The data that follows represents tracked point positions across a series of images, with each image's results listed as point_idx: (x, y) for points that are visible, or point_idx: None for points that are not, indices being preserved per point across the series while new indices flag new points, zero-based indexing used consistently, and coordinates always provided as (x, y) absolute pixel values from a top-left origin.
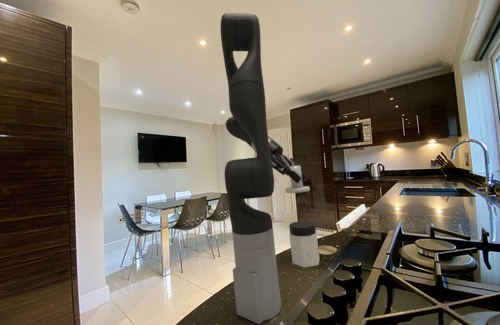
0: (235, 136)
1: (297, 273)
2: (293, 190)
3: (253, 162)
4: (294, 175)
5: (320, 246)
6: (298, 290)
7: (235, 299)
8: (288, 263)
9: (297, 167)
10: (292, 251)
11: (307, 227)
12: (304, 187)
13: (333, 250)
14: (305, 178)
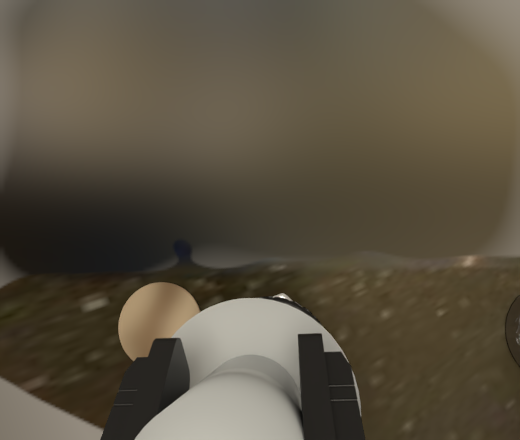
0: None
1: (358, 335)
2: (356, 389)
3: None
4: (356, 400)
5: (133, 352)
6: (437, 289)
7: None
8: None
9: (270, 411)
10: None
11: (307, 312)
12: (262, 328)
13: (156, 294)
14: (182, 346)
